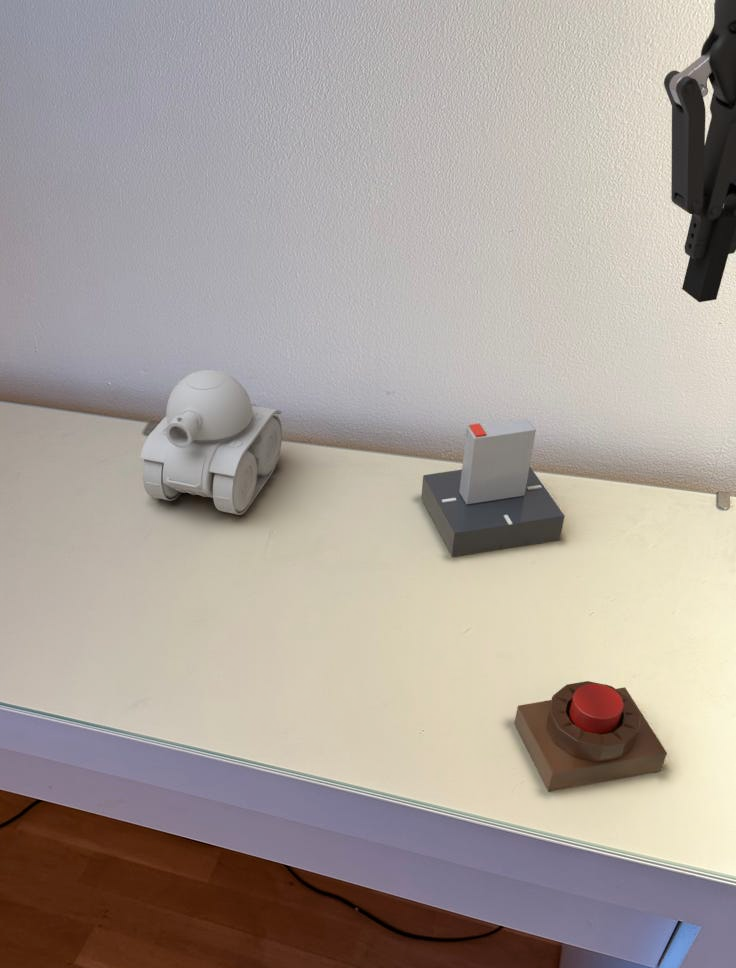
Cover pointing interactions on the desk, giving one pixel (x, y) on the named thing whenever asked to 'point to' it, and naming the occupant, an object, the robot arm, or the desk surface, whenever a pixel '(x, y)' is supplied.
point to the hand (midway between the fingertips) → (698, 293)
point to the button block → (586, 742)
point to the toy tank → (212, 443)
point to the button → (596, 708)
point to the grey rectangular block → (496, 460)
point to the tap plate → (490, 516)
